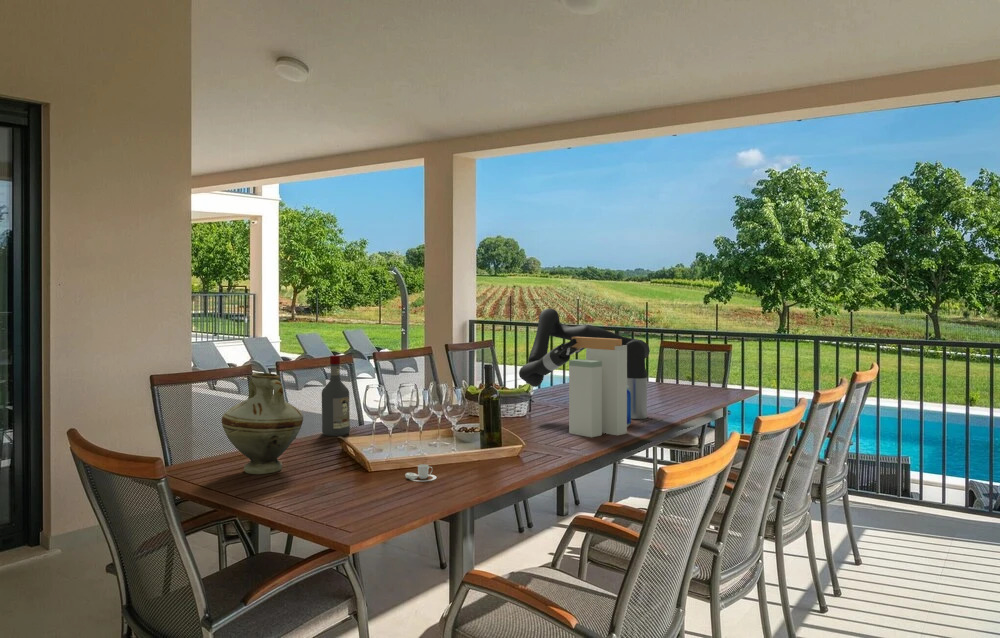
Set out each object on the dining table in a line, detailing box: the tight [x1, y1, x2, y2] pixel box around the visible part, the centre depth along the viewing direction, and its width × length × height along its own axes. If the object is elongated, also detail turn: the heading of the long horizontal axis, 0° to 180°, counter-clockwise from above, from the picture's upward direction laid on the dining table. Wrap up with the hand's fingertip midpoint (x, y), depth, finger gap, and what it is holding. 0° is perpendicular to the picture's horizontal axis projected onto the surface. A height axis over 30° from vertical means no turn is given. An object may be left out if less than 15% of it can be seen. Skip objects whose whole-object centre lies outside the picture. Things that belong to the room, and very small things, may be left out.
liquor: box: [321, 355, 351, 437], centre depth 277 cm, size 9×9×30 cm
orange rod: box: [572, 337, 622, 350], centre depth 281 cm, size 22×4×4 cm, turn 44°
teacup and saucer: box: [404, 463, 437, 482], centre depth 211 cm, size 9×8×4 cm
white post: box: [585, 345, 628, 436], centre depth 278 cm, size 15×6×34 cm, turn 44°
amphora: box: [221, 372, 304, 475], centre depth 221 cm, size 24×24×30 cm
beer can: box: [627, 386, 632, 428], centre depth 291 cm, size 8×8×16 cm
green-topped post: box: [568, 358, 603, 438], centre depth 274 cm, size 11×6×28 cm, turn 44°
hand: (582, 339), depth 286 cm, fingers open, 8 cm apart
